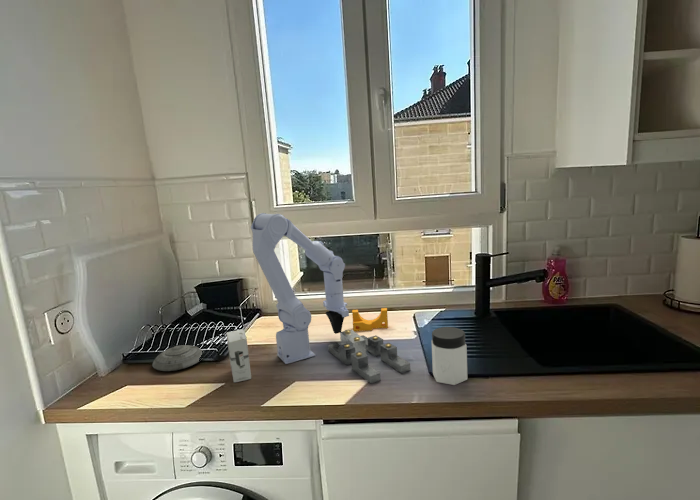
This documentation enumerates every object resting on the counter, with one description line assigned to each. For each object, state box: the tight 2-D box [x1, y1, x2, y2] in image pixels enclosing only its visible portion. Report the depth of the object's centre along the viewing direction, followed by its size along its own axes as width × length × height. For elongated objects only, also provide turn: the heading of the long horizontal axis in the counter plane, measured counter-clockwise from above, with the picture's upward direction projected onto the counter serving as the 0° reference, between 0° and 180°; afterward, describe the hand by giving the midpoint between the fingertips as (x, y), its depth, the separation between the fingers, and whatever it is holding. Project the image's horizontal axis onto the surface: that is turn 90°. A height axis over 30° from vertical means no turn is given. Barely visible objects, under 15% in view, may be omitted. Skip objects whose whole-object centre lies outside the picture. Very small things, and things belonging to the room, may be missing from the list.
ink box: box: [226, 328, 252, 383], centre depth 116 cm, size 9×5×12 cm, turn 21°
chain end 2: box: [351, 342, 411, 384], centre depth 113 cm, size 12×10×5 cm
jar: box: [430, 326, 468, 386], centre depth 106 cm, size 9×8×12 cm
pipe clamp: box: [351, 307, 389, 332], centre depth 144 cm, size 12×4×6 cm, turn 88°
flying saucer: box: [151, 344, 203, 372], centre depth 127 cm, size 15×15×6 cm
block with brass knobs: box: [339, 329, 367, 355], centre depth 127 cm, size 4×10×6 cm, turn 23°
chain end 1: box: [327, 335, 384, 366], centre depth 125 cm, size 12×12×5 cm
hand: (337, 332), depth 136 cm, fingers closed
